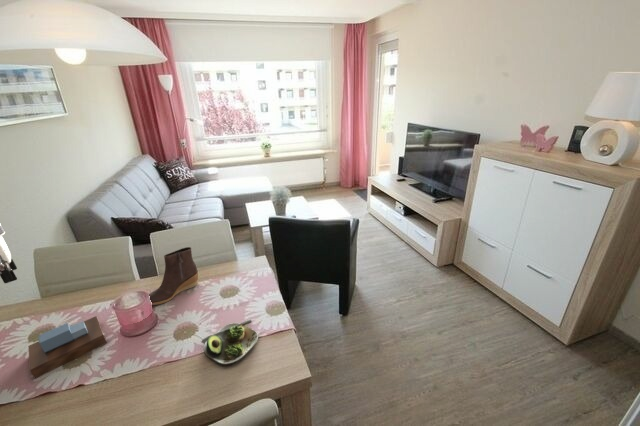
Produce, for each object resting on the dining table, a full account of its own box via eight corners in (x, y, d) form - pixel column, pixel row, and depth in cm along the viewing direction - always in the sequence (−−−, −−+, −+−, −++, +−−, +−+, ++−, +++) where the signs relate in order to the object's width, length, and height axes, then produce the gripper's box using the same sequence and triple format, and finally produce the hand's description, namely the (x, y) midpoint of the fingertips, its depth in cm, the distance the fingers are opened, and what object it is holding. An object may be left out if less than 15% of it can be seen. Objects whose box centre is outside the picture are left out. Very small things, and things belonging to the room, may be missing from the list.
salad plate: (237, 315, 117) (235, 306, 115) (270, 333, 108) (269, 323, 106) (195, 350, 102) (192, 340, 101) (229, 373, 93) (227, 363, 91)
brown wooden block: (34, 378, 95) (29, 370, 93) (33, 354, 104) (28, 345, 103) (107, 342, 107) (103, 334, 106) (99, 323, 117) (96, 315, 115)
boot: (142, 302, 128) (128, 263, 120) (196, 277, 143) (187, 241, 135) (148, 311, 122) (134, 271, 114) (204, 285, 137) (195, 248, 129)
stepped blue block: (45, 354, 99) (39, 343, 97) (44, 346, 102) (38, 335, 100) (88, 334, 106) (83, 323, 104) (86, 327, 110) (81, 316, 108)
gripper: (-27, 229, 101) (-3, 271, 107) (-32, 245, 89) (-5, 291, 96) (4, 222, 105) (25, 262, 112) (2, 236, 94) (26, 280, 100)
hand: (11, 275), depth 104 cm, fingers open, 9 cm apart
